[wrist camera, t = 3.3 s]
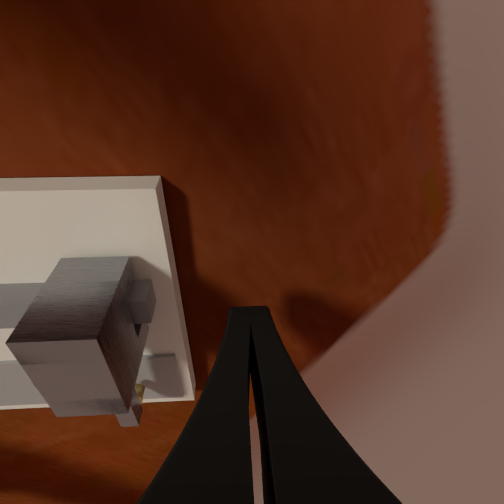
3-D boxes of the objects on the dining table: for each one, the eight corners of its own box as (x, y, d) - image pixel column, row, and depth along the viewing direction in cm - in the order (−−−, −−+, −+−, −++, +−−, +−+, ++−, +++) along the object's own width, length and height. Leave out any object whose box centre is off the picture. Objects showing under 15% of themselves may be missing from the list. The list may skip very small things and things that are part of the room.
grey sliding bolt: (164, 384, 17) (150, 464, 14) (116, 386, 17) (93, 468, 14) (129, 256, 12) (96, 339, 9) (61, 258, 12) (5, 343, 9)
